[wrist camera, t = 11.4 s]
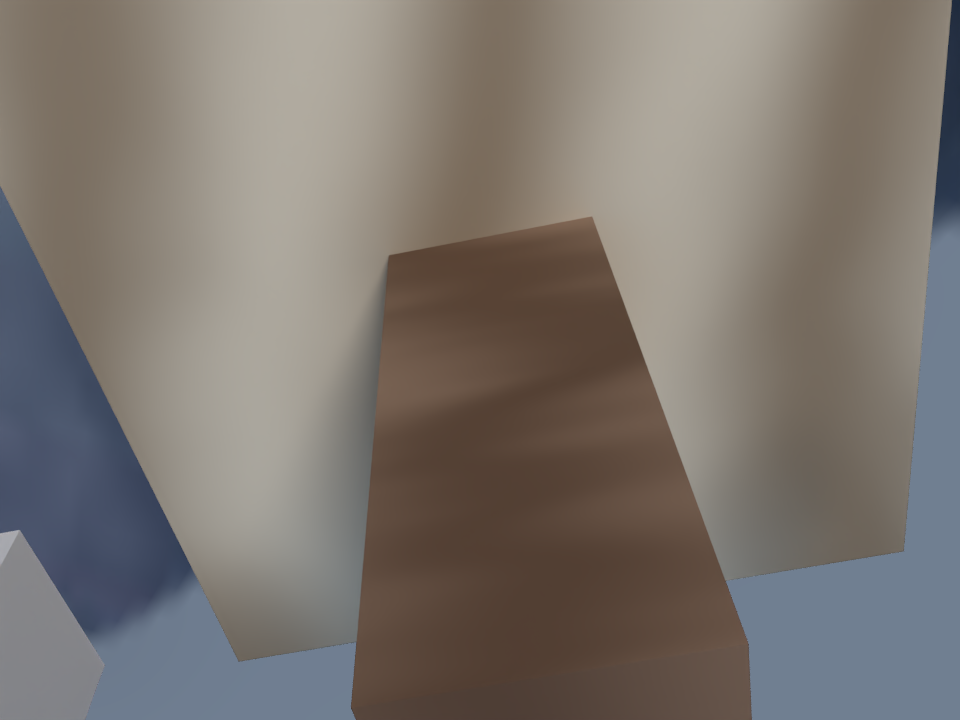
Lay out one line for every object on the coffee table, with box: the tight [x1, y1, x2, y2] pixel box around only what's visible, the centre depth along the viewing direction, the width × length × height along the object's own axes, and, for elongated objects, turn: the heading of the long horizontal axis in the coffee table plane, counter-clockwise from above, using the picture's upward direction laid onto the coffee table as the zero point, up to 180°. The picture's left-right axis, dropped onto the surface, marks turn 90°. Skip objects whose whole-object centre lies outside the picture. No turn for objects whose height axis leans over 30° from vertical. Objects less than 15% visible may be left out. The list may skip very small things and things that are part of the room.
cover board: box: [0, 0, 952, 720], centre depth 13 cm, size 15×15×10 cm
